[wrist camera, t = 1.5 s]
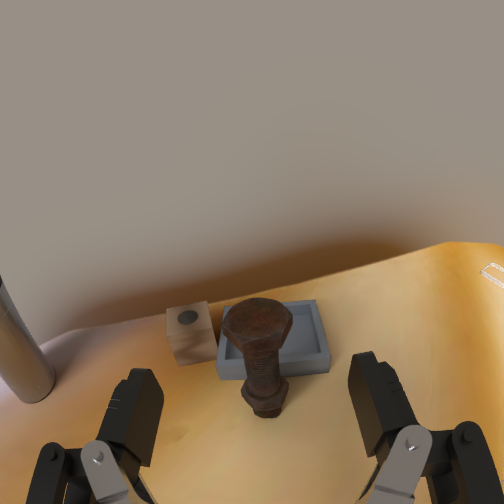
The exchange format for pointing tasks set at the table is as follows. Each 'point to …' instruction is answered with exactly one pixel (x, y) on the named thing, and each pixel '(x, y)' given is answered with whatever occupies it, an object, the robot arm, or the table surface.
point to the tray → (284, 346)
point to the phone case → (491, 276)
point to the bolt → (260, 350)
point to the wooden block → (191, 333)
